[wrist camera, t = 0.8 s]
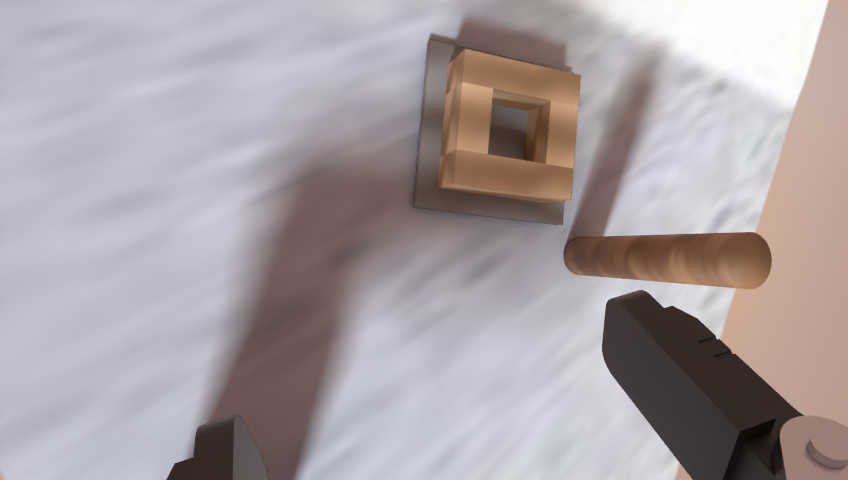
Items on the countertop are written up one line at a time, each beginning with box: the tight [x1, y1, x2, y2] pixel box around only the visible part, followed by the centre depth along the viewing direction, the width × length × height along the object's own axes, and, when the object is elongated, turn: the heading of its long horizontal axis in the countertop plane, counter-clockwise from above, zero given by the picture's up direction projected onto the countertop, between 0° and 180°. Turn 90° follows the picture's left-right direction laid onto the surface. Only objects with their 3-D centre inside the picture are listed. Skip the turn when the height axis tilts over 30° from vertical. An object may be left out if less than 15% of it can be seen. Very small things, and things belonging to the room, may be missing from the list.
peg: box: [564, 232, 772, 289], centre depth 46 cm, size 4×4×20 cm
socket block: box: [413, 40, 581, 225], centre depth 51 cm, size 16×16×5 cm
